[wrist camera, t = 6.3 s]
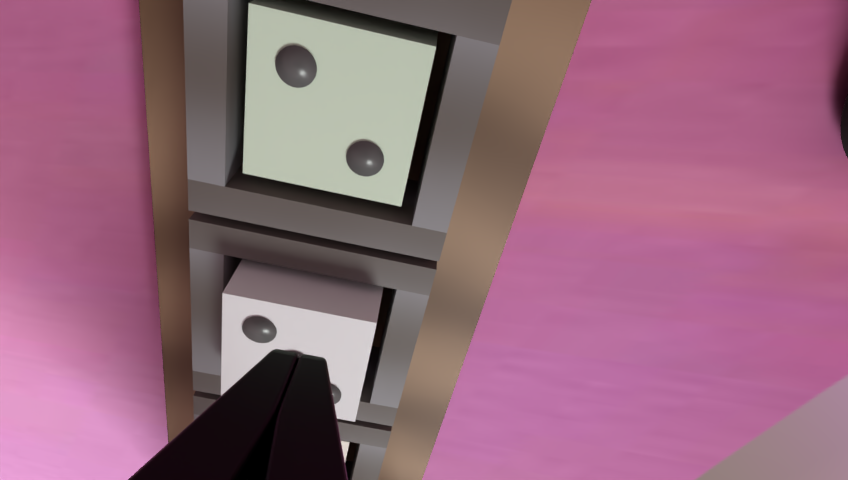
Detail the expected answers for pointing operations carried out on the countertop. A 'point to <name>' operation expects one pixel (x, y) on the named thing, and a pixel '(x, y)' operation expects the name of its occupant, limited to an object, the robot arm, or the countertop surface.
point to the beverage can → (845, 126)
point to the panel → (350, 203)
